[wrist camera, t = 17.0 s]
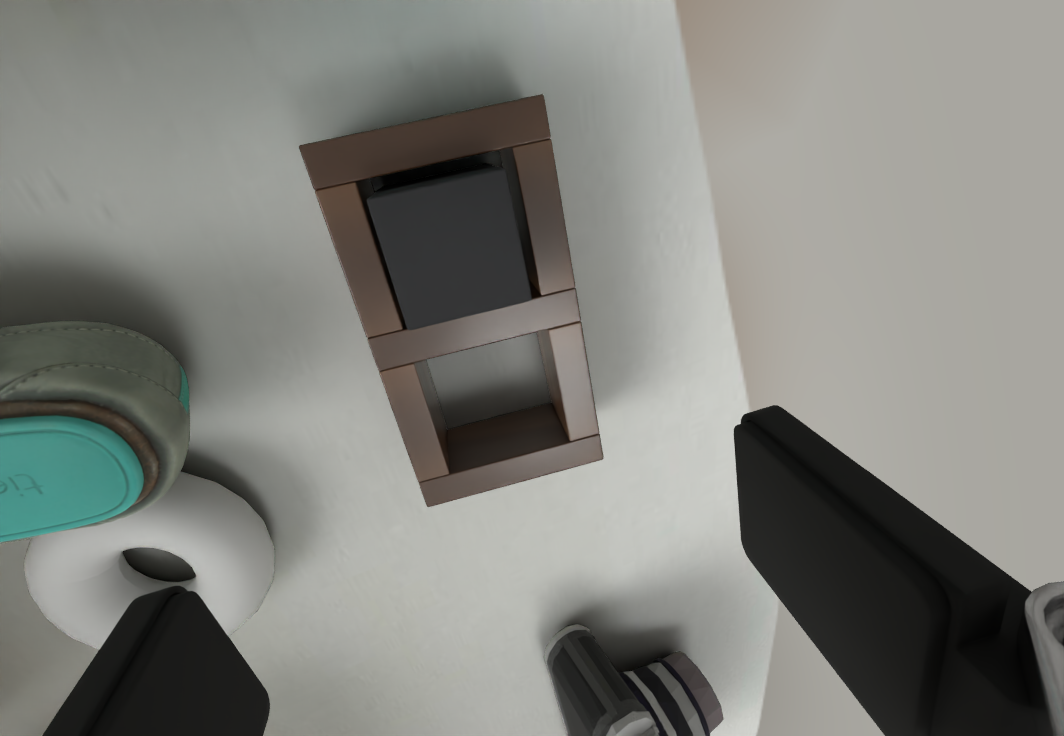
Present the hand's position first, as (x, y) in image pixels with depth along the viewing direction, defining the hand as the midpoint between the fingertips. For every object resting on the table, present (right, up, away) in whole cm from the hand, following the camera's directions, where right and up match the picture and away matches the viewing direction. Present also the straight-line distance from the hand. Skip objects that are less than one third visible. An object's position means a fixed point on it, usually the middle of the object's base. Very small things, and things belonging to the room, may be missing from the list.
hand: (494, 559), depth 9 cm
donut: (-17, -5, +17) cm, 25 cm away
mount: (-2, +6, +15) cm, 16 cm away
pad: (-3, +9, +13) cm, 16 cm away
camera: (+7, -19, +27) cm, 34 cm away
